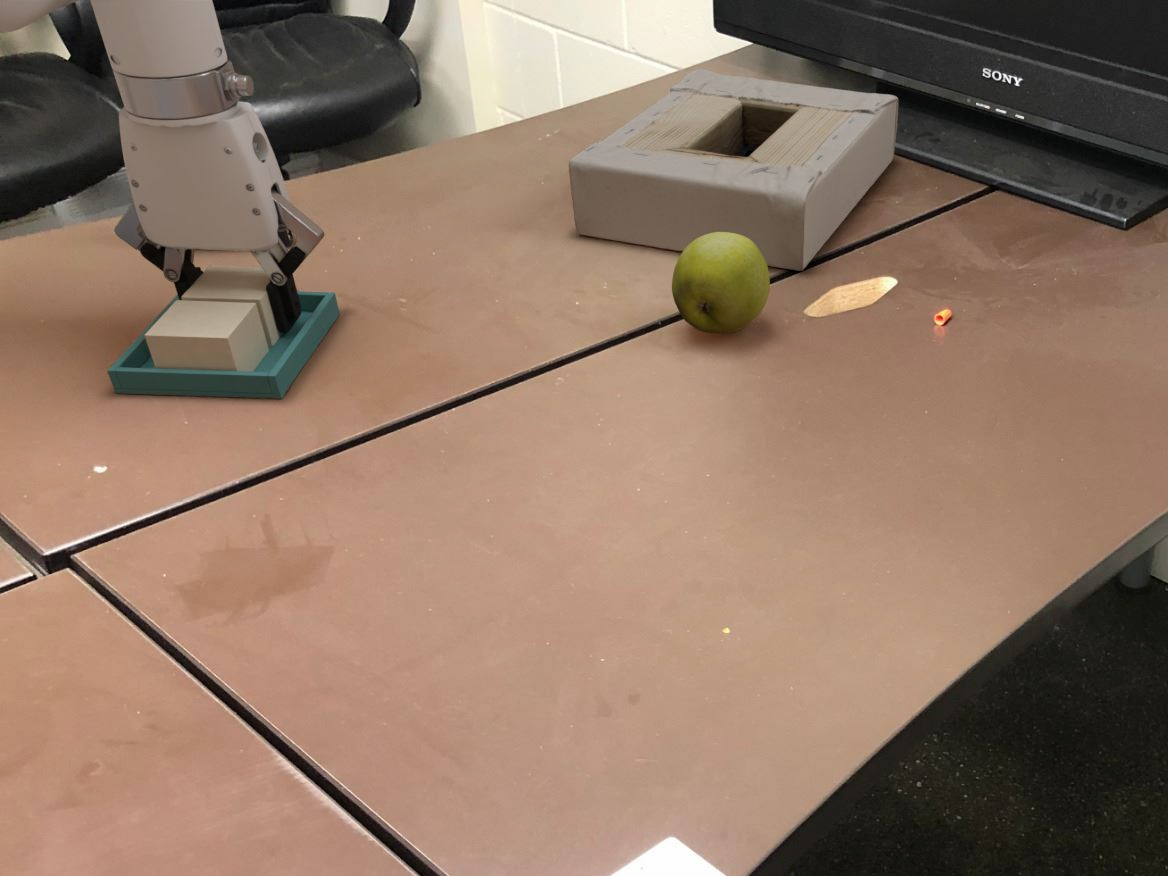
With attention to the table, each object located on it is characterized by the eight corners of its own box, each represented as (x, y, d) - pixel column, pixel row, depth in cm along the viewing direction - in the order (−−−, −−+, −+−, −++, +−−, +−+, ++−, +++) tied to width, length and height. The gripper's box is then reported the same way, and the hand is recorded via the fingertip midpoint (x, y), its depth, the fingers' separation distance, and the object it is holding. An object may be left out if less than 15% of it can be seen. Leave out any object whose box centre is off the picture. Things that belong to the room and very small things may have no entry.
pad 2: (160, 384, 100) (143, 334, 97) (191, 347, 105) (176, 299, 102) (242, 386, 100) (227, 337, 98) (269, 350, 105) (256, 302, 102)
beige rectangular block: (223, 311, 110) (209, 264, 107) (298, 313, 110) (285, 267, 107) (196, 344, 105) (180, 296, 102) (273, 347, 105) (260, 299, 103)
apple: (784, 313, 115) (783, 222, 110) (748, 359, 108) (745, 265, 103) (700, 299, 116) (695, 209, 111) (658, 344, 110) (651, 250, 104)
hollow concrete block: (809, 276, 121) (897, 159, 145) (808, 191, 116) (899, 85, 140) (573, 243, 125) (697, 135, 149) (562, 160, 120) (692, 62, 144)
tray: (115, 393, 99) (106, 370, 98) (190, 308, 111) (183, 286, 109) (281, 398, 100) (275, 375, 99) (340, 313, 111) (334, 292, 110)
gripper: (317, 79, 99) (369, 307, 110) (78, 69, 98) (156, 300, 110) (283, 111, 93) (341, 348, 105) (30, 102, 92) (117, 342, 104)
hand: (246, 322), depth 107 cm, fingers closed on beige rectangular block, 6 cm apart
